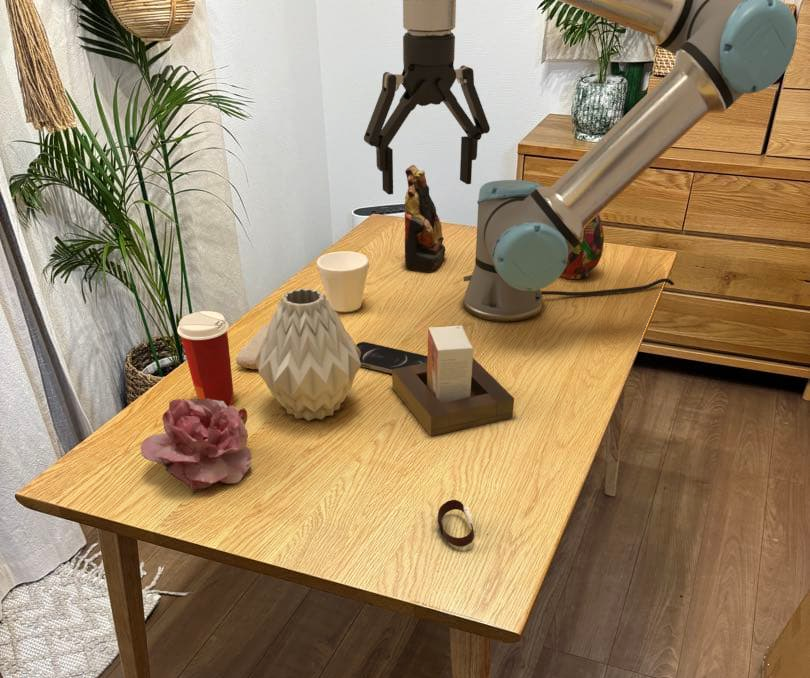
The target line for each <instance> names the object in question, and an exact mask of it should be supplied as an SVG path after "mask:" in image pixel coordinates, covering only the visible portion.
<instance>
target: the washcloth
mask: <svg viewBox="0 0 810 678" xmlns="http://www.w3.org/2000/svg"><path fill="white" fill-rule="evenodd" d="M269 324H270V322H269V323H268V324H264V325H262V326H261V327H260V329H259V330H258V332H256V334H255V335H253V336H252V337H251V338H250V339H249V341H248V342H247V343H246V344H245V345H244V346H243V347H242V348H241V349H240V350H239V351H238V354H237V356H236V365H237V366H240V367H242V368H246V369H252V370H259V369H258V367H257V365H256V363H255V359H256V357H257V354H258V352H259V349H260V347H261V344H262V342H263V340H264V339H265V337H266V335H267V332H268V328H269Z"/></svg>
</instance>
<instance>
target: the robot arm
mask: <svg viewBox="0 0 810 678" xmlns="http://www.w3.org/2000/svg"><path fill="white" fill-rule="evenodd" d="M557 1H558V2H560V3H564V4H567V5H568V6H571V7H574V8H577V9H580V10H582V11H584V12H587V13H589V14H592V15H595V16H598V17H601V18H603V19H605V20H608V21H611V22H613V23H616V24H618V25H621V26H624V27H626V28H629V29H631V30H635V31H637V32H640V33H642V34H645V35H648V37H649V40H650V43H651V44H652V45H653V46H656V47H658V48H660V49H663V50H665V51H667V52H669V53H671V54H673V55H675V58H674V65H673V68H672V69H671V70H670V71H669V72H668V73H667V74H666V75H665V76H664V77H663V78H662V79H661V80H660V81H659V82H657V83H656V85H655V86H654V87H652V89H650V90H649V92H647V93H646V94H645V95H644V96H643V97H642V98H641V99H640V100H639V101H638V102H637V103H636V104H635V105H634V106H633V107H632V108H631V109H630V110H629V111H628V112H627V113H626V114H624V116H623V117H622V118H621V119H620V120H619V121H617V123H615V124H614V126H612V127H611V128H610V129H609V130H608V131H607V132H606V134H604V135H603V136H602V137H601V138H600V139H599V140H598V141H597V142H596V143H595V144H594V145H593V146H591V148H590V149H588V151H586V153H585V154H583V156H581V157H580V158H579V159H578V160H577V162H575V163H574V164H573V165H572V166H570V168H569V169H568V170H567V171H566V172H565V173H564V174H563V175H562V176H560V178H559V179H558V180H557V181H555V182H554V184H552V185H551V186H543V184H541V183H539V182H537V181H532V180H525V179H501V180H500V179H499V180H494V181H487V182H486V183H484V184H482V185H481V186H480V188H479V191H478V200H477V201H476V204H477V222H476V243H475V260H474V261H475V264H474V267H473V271H472V274H471V275H466V276H463V282H468V284H467V287H466V289H465V292H464V295H463V296H464V297H463V306H464V308H465V310H466V311H467V312H468V313H469V314H471V315H472V316H475V317H478V318H479V319H483V320H487V321H491V322H492V321H493V322H500V323H501V322H503V323H505V322H507V323H509V322H518V321H519V322H520V321H525V320H528V319H530V318H533V317H535V316H536V315H539V313H541V311H542V306H543V296H572V297H576V296H579V297H581V296H595V295H604V294H616V293H624V292H625V293H626V292H634V291H642V290H648V289H650V288H653V287H654V286H657V285H659V284H661V283H667V284H669V285H671V286H675V283H674V281H673V280H672V279H669V278H659V279H658V280H655V281H653V282H651V283H649V284H645V285H639V286H631V287H623V288H612V289H601V290H591V291H557V290H554V291H553V290H544V289H545V288H547V287H549V286H551V285H552V284H553V283H555V282H556V281H558V279H559V278H560V277H562V276H561V274H562V273H563V271H564V269H565V267H566V264H567V260H568V254H569V253H570V252H571V251H573V250H574V249H575V248H576V247H577V246H578V245H579V244H580V243H581V242H582V241H583V234H584V228H585V227H586V225H587V224H588V223H589V222H590V221H592V220H593V219H594V218H595V217H596V216H597V215H598V214H599V215H600V213H601V212H602V211H604V210H605V209H606V208H607V207H609V205H611V204H612V202H614V200H616V199H617V198H618V197H619V196H620V195H621V194H622V193H623V192H624V191H625V190H627V188H629V187H630V186H631V185H632V184H633V183H634V182H635V181H636V180H637V179H638V178H639V177H641V175H643V174H644V173H645V172H646V171H647V170H648V169H649V168H650V167H652V165H653V164H655V163H656V162H657V161H658V160H659V159H660V158H661V157H662V156H663V155H664V154H665V153H667V151H669V150H670V149H671V148H672V147H673V146H674V145H675V144H677V142H679V141H680V140H681V139H682V138H683V137H684V136H685V135H686V134H688V132H689V131H690V130H691V129H693V128H694V126H696V125H697V124H698V123H699V122H700V121H701V120H702V119H703V118H704V117H706V115H708V114H719V113H720V114H723V113H724V112H726V111H727V110H728V109H729V108H730V107H731V106H732V105H733V104H735V103H736V102H737V101H738V100H739V99H740V98H741V97H742V96H743V95H745V94H749V95H751V94H754V93H759V92H761V91H764V90H767V88H769V87H771V86H772V85H773V84H775V83H776V82H777V81H778V80H779V79H781V77H782V75H783V74H784V73H785V71H786V70H787V68H788V66H789V65H790V63H791V61H792V59H793V56H794V53H795V47H796V43H797V39H798V27H797V26H798V25H797V21H796V18H795V15H794V13H793V11H792V9H790V7H789V6H788V5H787V4H786V3H785V2H783V1H782V0H557ZM456 13H457V0H402V27H403V29H404V30H406V31H407V32H404V35H402V52H403V53H402V63H403V69H402V72H401V74H399V73H398V74H397V73H391V72H389V71H385V72H384V73H383V74H382V80H381V81H382V84H381V91H380V93H379V96H378V98H377V100H376V103H375V106H374V109H373V111H372V114H371V117H370V120H369V123H368V125H367V128H366V129H365V133H364V136H363V141H364V142H365V143H366V144H367V145H369V146H371V147H375V153H376V156H375V158H376V169H377V170H378V171H380V172H381V175H382V176H381V177H382V178H381V179H382V191H383V192H385V193H386V194H387V195H394V156H393V154H394V153H393V151H394V150H393V148H391V147H390V144H391V143H392V141H393V139H394V138H395V136H396V135H397V133H398V132H399V130H400V129H401V128H402V125H403V124H404V123H405V121H406V120H407V118H408V116H409V115H410V113H411V112H412V111H414V110H415V109H416V107H417V105H418V106H420V107H426V106H429V105H435V106H437V105H441V103H443V104H444V105H445V107H446V108H447V109H448V111H449V112H450V114H451V115H452V116H453V118H454V119H455V120H456V121H457V123H458V125H459V126H460V127H461V129H462V130H463V131H464V133H465V134H466V135H465V136H461V137H460V138H461V139H460V161H459V163H460V165H459V181H461V182H462V183H464V184H465V185H471V184H472V174H473V173H472V172H473V161H476V160H477V157H478V144H479V143H478V142H479V141H480V140H481V139H482V137H483V136H482V135H484V134H489V132H490V131H491V127H490V123H489V121H488V119H487V116H486V113H485V110H484V107H483V105H482V103H481V100H480V96H479V94H478V92H477V91H478V90H477V89H476V85H475V76H474V75H475V74H474V73H475V72H474V69H473V68H471V67H470V66H466V65H465V64H464V65H461V66H459V68H455V67H454V62H455V52H456V51H455V49H456V47H455V46H456V36H455V34H454V33H453V32H452V31H453V30H454V29H455V28H456V18H457V16H456V15H457V14H456ZM456 81H457V84H459V85H460V87H461V91H462V93H463V95H464V99H465V101H466V103H467V106H468V109H469V112H470V115H471V118H472V120H473V122H472V120H471V119H470V117H469V116H468V115H467V113H466V111H465V109H463V107H462V106H461V104H460V103H459V101H458V99H457V97H456V96H455V94H454V93H453V91H452V90H451V89H452V87H453V85H454V83H455V82H456ZM401 85H402V86H403V88H404V92H403V94H402V95H401V96H400V98H399V102H398V104H397V106H395V109H394V110H393V112H392V113H391V115H390V116H389V118H388V115H389V112H390V109H391V106H392V103H393V101H394V98H395V95H396V92H397V91H398V90H399V89H400V86H401ZM387 118H388V119H387ZM386 119H387V121H386ZM385 122H386V123H385ZM542 289H543V290H542Z"/></svg>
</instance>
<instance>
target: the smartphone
mask: <svg viewBox="0 0 810 678" xmlns="http://www.w3.org/2000/svg"><path fill="white" fill-rule="evenodd" d="M355 344H356V346H357V347H358V349H359V350H360V352H361V355H360V359H359V360H360V363H361V366H360V367H362V368H367V369H370V370H375V371H379V372H384V373H387V374H392V369H397V368H402V367H407V366H412V365H417V364H422V363H427V356H428V355H425V354H421V353H417V352H412V351H407V350H403V349H398V348H395V347H390V346H385V345H382V344H375V343H372V342H367V341H359V342H358V343H355Z"/></svg>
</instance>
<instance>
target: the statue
mask: <svg viewBox="0 0 810 678" xmlns="http://www.w3.org/2000/svg"><path fill="white" fill-rule="evenodd" d="M404 172H405V173H404V174H405V175H406V181H407V191H406V194H405V197H404V264H405V268H406V269H407V270H410V271H416V272H421V273H422V272H423V273H432V272H435V271H436V270H437V268H439V267H440V265H441V264H442V262H443V261H444V260H445V255H446V246H445V245H444V244H443V242H444V236H443V232H442V230H443V229H442V227H443V226H442V222H441V219H440V217H439V215H438V214H437V207H436V205H435V203H434V201H433V199H432V198H431V196H430V187H429V185H428V183H427V178H426V172H425V170H423V169H420V170H419V168H418V167H417V166H416V164H412V165H410V166H408V167H406V169H405V171H404Z"/></svg>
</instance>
